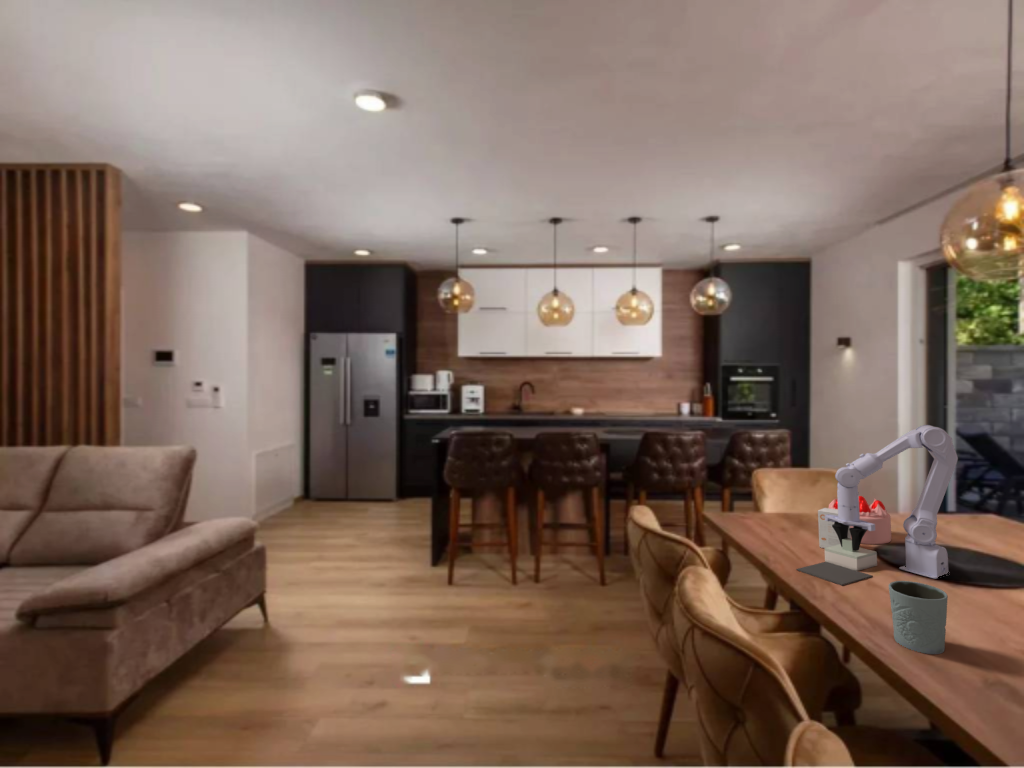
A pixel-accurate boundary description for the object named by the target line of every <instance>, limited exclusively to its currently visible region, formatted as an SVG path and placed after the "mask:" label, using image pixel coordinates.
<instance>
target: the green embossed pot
mask: <svg viewBox="0 0 1024 768" xmlns="http://www.w3.org/2000/svg"><path fill="white" fill-rule="evenodd" d="M888 590H889V591H888V592H889V599H890V608H891V615H892V616H891V617H892V624H893V625H892V626H893V638H894V641H895V643H896V644H898V643H899V644H900V645H899V644H898V645H899V646H901V645H902V646H901V647H903V646H904V647H903V648H905V647H906V648H905V649H907V648H908V649H907V650H910V649H911V651H913V650H914V651H913V652H916V651H917V653H920V652H921V654H924V655H926V654H928V655H940V654H942V653H944V652H945V649H946V647H945V645H946V643H945V642H946V633H947V632H946V631H947V630H946V629H947V628H946V625H947V618H948V617H947V615H948V614H947V613H948V600H949V599H948V593H946V592H945V591H944V590H942V589H940V588H939V587H936V586H933V585H930V584H927V583H922V582H917V581H911V580H895V581H891V582H889V583H888Z"/></svg>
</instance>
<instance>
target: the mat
mask: <svg viewBox="0 0 1024 768" xmlns="http://www.w3.org/2000/svg"><path fill="white" fill-rule="evenodd" d="M795 570H796V571H797V570H798V572H800V571H801V572H800V573H803V574H806V575H810V576H813V577H815V578H818V579H821V580H824V581H827V582H830V583H834V584H836V585H839V586H846V585H849V584H852V583H853V584H854V583H856V582H861V581H864V580H867V579H870V578H873V575H872V574H868V573H865V572H862V571H860V570H859V571H856V570H852V569H849V568H846V567H842V566H839V565H836V564H832V563H829V562H825V561H822V562H819V563H815V564H811V565H807V566H802V567H800V568H796V569H795Z"/></svg>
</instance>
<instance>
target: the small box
mask: <svg viewBox="0 0 1024 768" xmlns="http://www.w3.org/2000/svg"><path fill="white" fill-rule="evenodd" d="M827 514H830V515H836V516H838V510H836V509H829V508H828V507H822V508H821V509H818V510H817V519H818V520H817V521H818V522H817V523H818V524H817V525H818V543H819V544H818V545H819V548H823V549H825V548H827V547H831V546H835V545H840V541H839V538H838V536H837V534H836V532H835V530H834V529H833V527H832V525H833V524H834V523H835V522H831V521H825V515H827ZM849 528H850V526H849ZM849 528H848V538H850V539H851V534H850V531H849Z"/></svg>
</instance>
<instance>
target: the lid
mask: <svg viewBox="0 0 1024 768" xmlns="http://www.w3.org/2000/svg"><path fill="white" fill-rule="evenodd" d="M825 551H828V552H832V553H835V554H839V555H842V556H846V557H850V558H853V559H861V558H865V557H869V556H872V555H876V554H877V555H878V553H877V551H875V550H871V549H867V548H864V547H861V546H860V547H859V550H856V551H855V550H853V548H852V539H850V538H845V539H842V547H841V544H840V545H835V546H831V547H827V548H824V552H825Z"/></svg>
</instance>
